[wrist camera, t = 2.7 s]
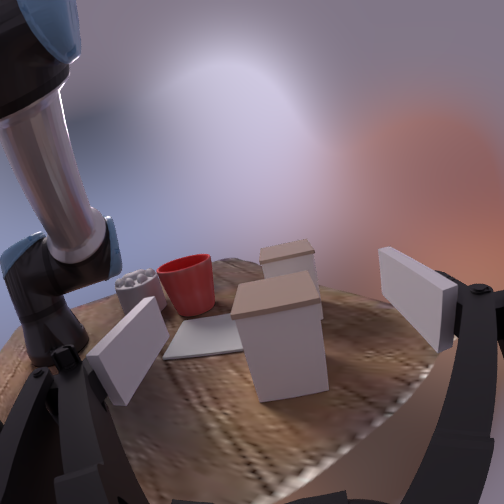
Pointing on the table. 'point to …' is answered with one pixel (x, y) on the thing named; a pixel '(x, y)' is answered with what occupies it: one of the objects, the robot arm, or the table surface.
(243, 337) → the cover canister
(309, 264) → the empty canister
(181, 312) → the flower pot
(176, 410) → the table surface
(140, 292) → the lumpy-topped squat cylinder
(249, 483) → the table surface
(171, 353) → the felt mat
